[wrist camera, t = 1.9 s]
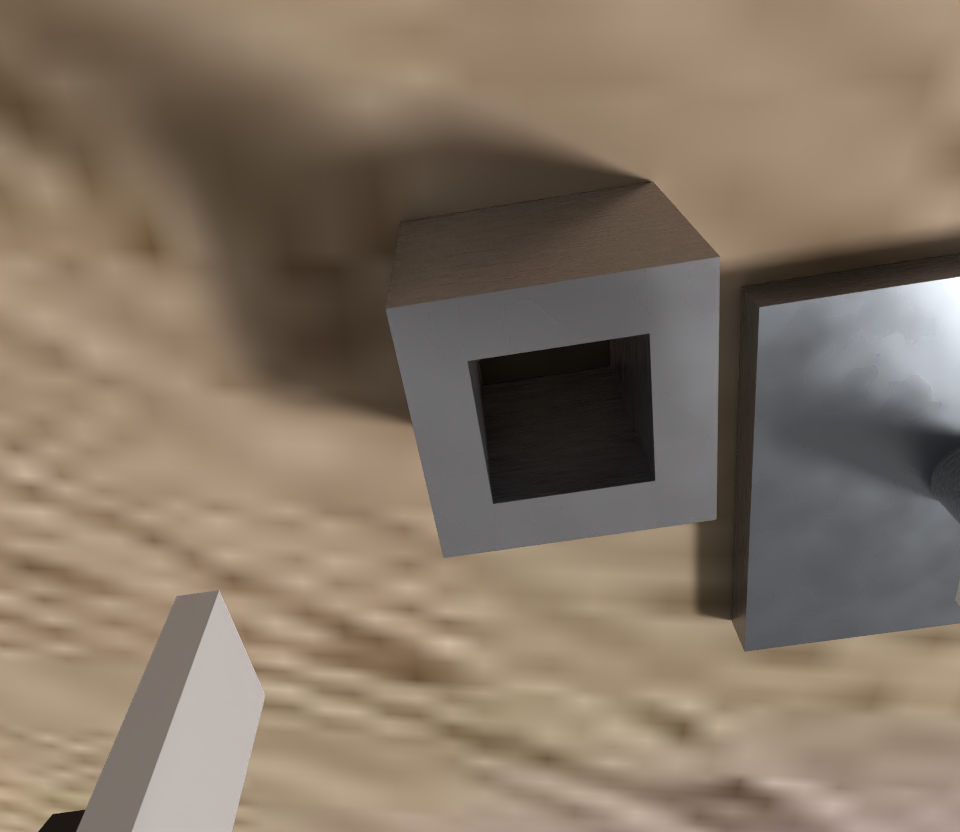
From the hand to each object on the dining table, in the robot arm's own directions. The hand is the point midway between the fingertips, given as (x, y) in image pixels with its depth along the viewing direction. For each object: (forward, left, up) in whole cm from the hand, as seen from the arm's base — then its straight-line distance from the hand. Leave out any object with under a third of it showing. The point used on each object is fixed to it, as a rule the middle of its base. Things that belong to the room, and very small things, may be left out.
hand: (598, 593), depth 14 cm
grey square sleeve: (0, 0, -11) cm, 11 cm away
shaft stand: (+7, +13, -11) cm, 18 cm away
